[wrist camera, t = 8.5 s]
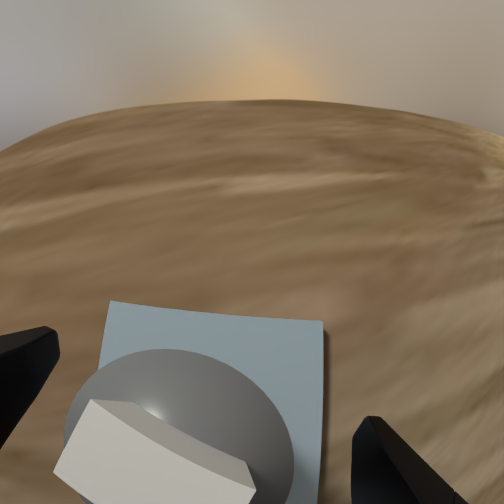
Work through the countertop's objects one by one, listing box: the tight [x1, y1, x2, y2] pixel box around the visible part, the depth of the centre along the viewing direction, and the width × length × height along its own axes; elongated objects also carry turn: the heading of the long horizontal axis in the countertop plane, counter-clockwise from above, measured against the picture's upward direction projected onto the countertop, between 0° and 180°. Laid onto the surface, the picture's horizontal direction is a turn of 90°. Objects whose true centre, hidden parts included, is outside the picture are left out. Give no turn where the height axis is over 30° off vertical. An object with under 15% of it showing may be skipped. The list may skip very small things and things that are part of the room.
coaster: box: [98, 301, 323, 504], centre depth 14 cm, size 12×12×1 cm
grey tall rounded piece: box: [53, 349, 294, 504], centre depth 8 cm, size 5×5×12 cm
